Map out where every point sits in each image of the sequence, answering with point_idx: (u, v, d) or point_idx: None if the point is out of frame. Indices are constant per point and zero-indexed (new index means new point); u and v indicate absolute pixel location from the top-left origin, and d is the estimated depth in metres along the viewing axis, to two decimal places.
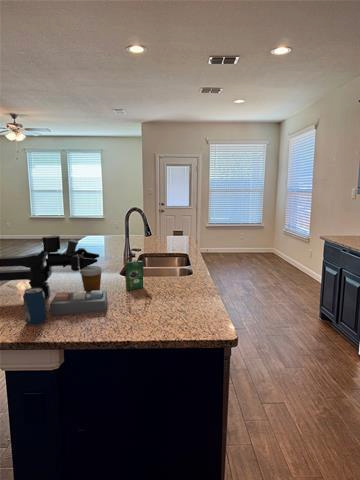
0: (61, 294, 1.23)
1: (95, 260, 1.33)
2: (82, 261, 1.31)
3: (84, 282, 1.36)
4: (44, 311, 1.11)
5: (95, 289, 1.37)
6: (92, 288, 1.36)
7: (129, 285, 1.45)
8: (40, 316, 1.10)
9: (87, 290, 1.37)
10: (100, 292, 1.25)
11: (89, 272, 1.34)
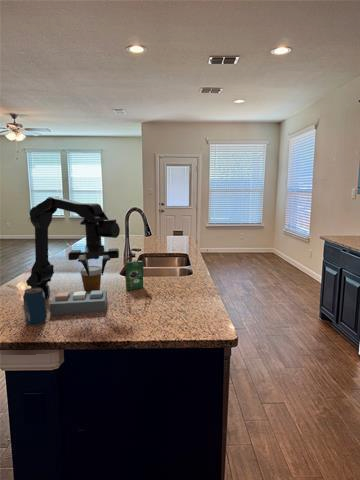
0: (61, 294, 1.23)
1: None
2: None
3: (84, 282, 1.36)
4: (44, 311, 1.11)
5: (95, 289, 1.37)
6: (92, 288, 1.36)
7: (129, 285, 1.45)
8: (40, 316, 1.10)
9: (87, 290, 1.37)
10: (100, 292, 1.25)
11: None
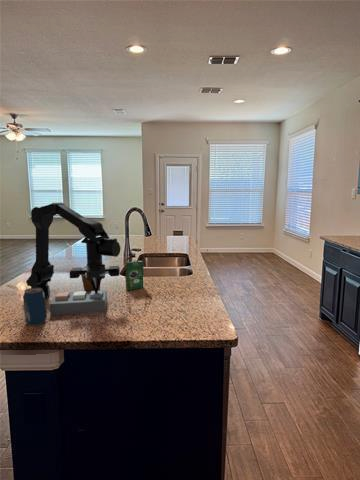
0: (61, 294, 1.23)
1: None
2: None
3: (84, 282, 1.36)
4: (44, 311, 1.11)
5: None
6: (92, 288, 1.36)
7: (129, 285, 1.45)
8: (40, 316, 1.10)
9: (87, 290, 1.37)
10: (100, 292, 1.25)
11: None
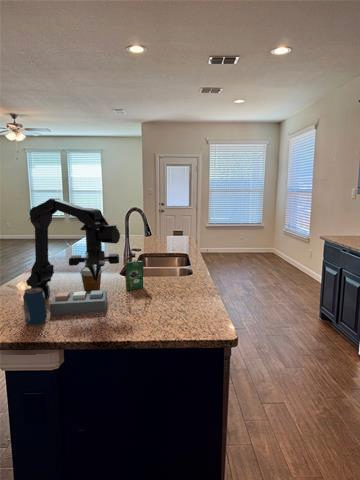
0: (61, 294, 1.23)
1: None
2: None
3: (84, 282, 1.36)
4: (44, 311, 1.11)
5: (95, 289, 1.37)
6: (92, 288, 1.36)
7: (129, 285, 1.45)
8: (40, 316, 1.10)
9: (87, 290, 1.37)
10: (100, 292, 1.25)
11: (89, 272, 1.34)
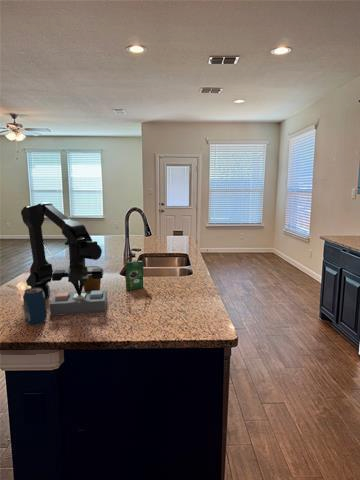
0: (61, 294, 1.23)
1: None
2: None
3: (84, 282, 1.36)
4: (44, 311, 1.11)
5: (95, 289, 1.37)
6: (92, 288, 1.36)
7: (129, 285, 1.45)
8: (40, 316, 1.10)
9: (87, 290, 1.37)
10: (100, 292, 1.25)
11: None
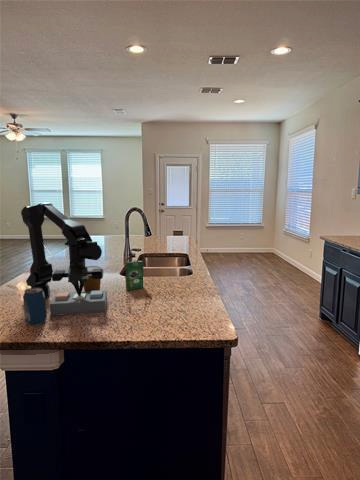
0: (61, 294, 1.23)
1: None
2: None
3: None
4: (44, 311, 1.11)
5: (95, 289, 1.37)
6: (92, 288, 1.36)
7: (129, 285, 1.45)
8: (40, 316, 1.10)
9: (87, 290, 1.37)
10: (100, 292, 1.25)
11: None
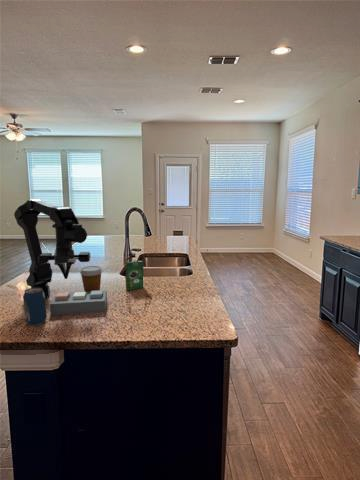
0: (61, 294, 1.23)
1: None
2: None
3: (84, 282, 1.36)
4: (44, 311, 1.11)
5: (95, 289, 1.37)
6: (92, 288, 1.36)
7: (129, 285, 1.45)
8: (40, 316, 1.10)
9: (87, 290, 1.37)
10: (100, 292, 1.25)
11: (89, 272, 1.34)
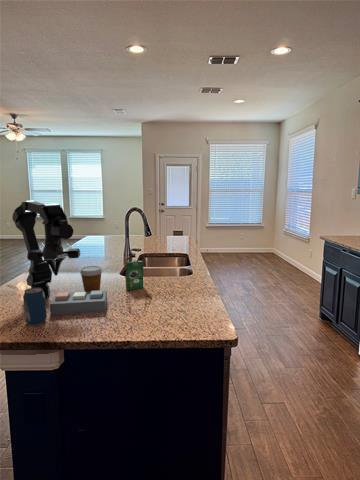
0: (61, 294, 1.23)
1: None
2: None
3: (84, 282, 1.36)
4: (44, 311, 1.11)
5: (95, 289, 1.37)
6: (92, 288, 1.36)
7: (129, 285, 1.45)
8: (40, 316, 1.10)
9: (87, 290, 1.37)
10: (100, 292, 1.25)
11: (89, 272, 1.34)
